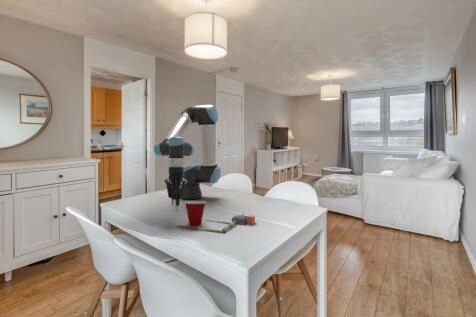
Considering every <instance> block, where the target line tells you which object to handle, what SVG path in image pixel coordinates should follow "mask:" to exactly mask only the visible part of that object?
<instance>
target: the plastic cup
mask: <svg viewBox="0 0 476 317" xmlns="http://www.w3.org/2000/svg"><path fill="white" fill-rule="evenodd" d="M184 203H185V208H186V212H187V218H188V225H189V227H200V226H201V225H202V221H203V220H202V219H203V216H204V210H205V206H206V204H207V201H204V200H185V201H184Z"/></svg>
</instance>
